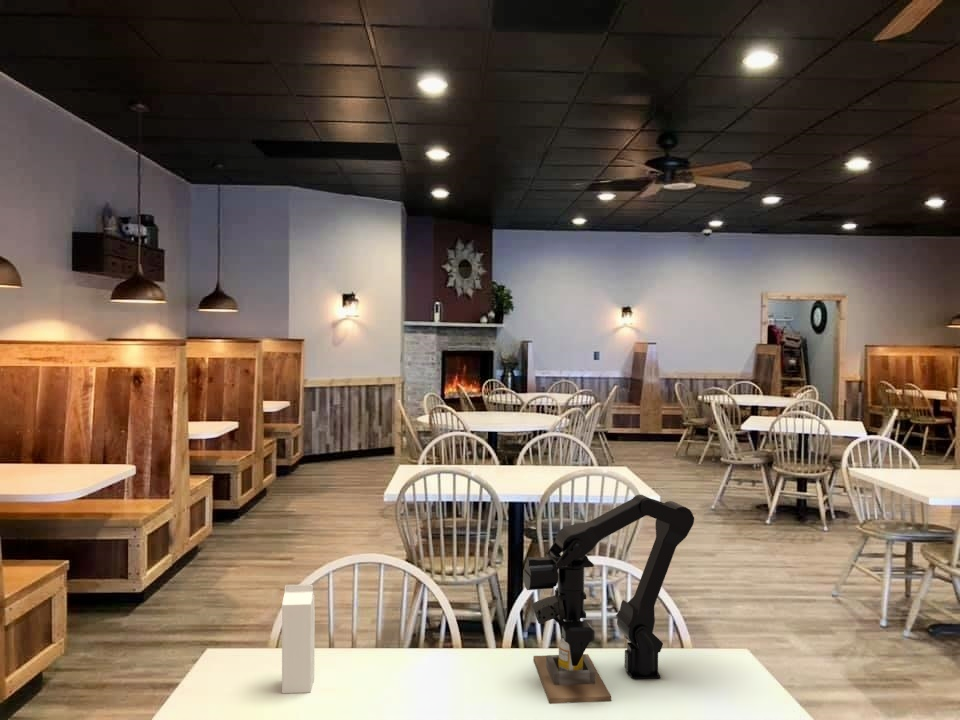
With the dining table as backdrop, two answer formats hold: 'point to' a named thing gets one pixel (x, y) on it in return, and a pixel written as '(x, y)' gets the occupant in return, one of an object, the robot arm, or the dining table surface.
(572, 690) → the can holder
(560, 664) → the supplement bottle
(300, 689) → the milk
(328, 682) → the dining table surface
